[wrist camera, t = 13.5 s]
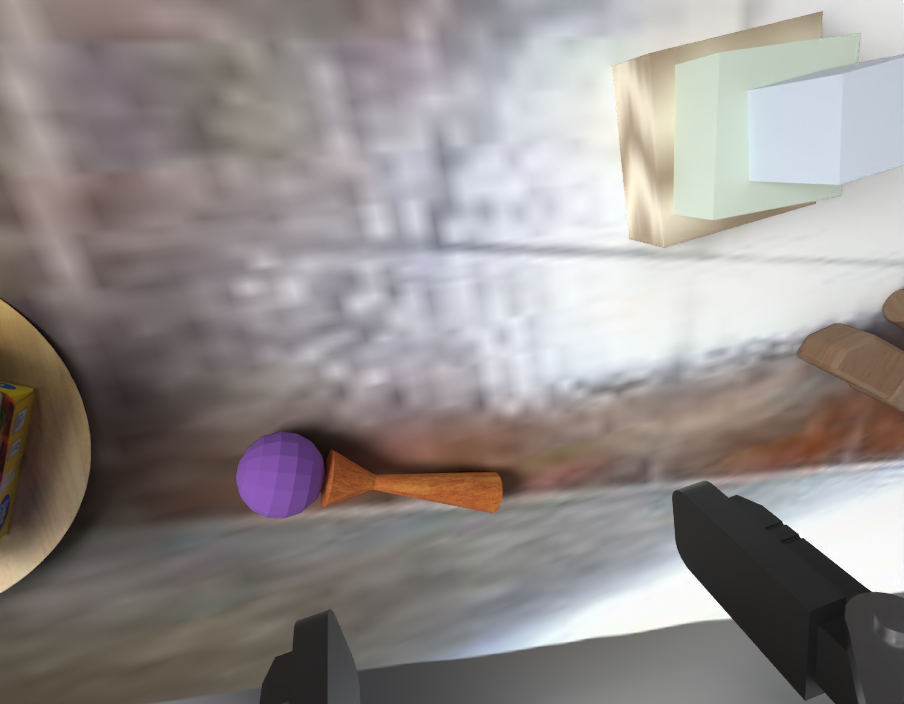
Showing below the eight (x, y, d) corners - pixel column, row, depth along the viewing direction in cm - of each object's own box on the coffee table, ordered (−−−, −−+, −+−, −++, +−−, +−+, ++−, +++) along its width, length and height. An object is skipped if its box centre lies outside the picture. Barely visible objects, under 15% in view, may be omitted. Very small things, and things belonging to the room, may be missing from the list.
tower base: (608, 67, 36) (649, 53, 32) (762, 29, 38) (822, 11, 33) (626, 238, 41) (664, 247, 36) (762, 198, 42) (815, 203, 37)
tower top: (675, 64, 32) (719, 52, 28) (802, 47, 33) (860, 32, 30) (673, 214, 35) (713, 220, 32) (789, 192, 37) (840, 195, 33)
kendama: (490, 545, 42) (226, 534, 35) (471, 491, 47) (235, 472, 40) (518, 492, 40) (239, 468, 33) (495, 441, 45) (248, 410, 38)
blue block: (747, 90, 29) (843, 73, 24) (824, 69, 30) (935, 48, 25) (749, 181, 31) (839, 184, 26) (822, 159, 32) (924, 158, 26)
